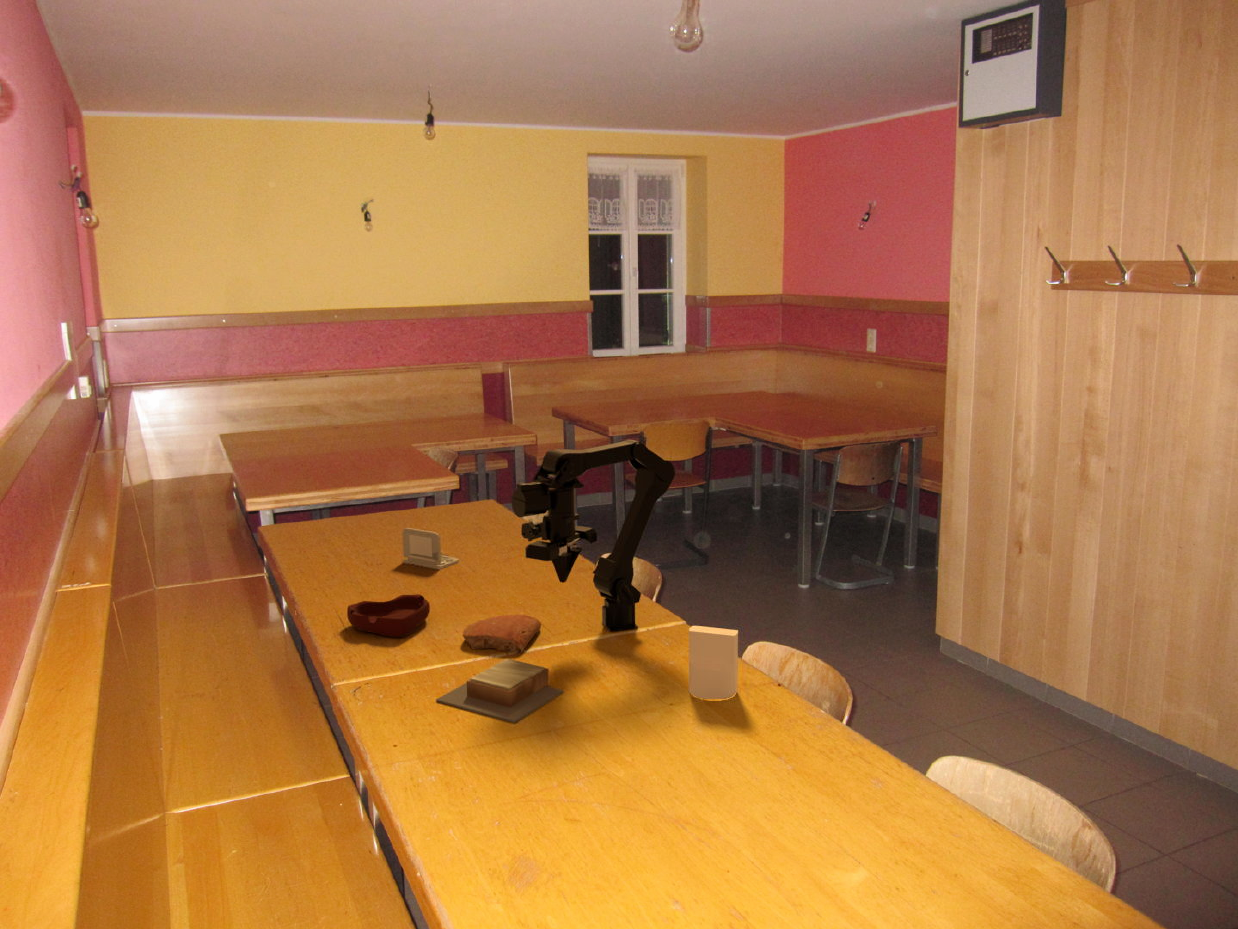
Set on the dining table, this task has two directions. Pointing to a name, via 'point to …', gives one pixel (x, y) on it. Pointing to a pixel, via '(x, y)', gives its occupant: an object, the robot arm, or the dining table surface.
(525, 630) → the ceramic shard
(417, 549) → the handheld gaming console
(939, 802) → the dining table surface
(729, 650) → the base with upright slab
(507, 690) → the brown wooden block
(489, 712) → the charcoal rubber mat
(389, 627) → the ashtray
